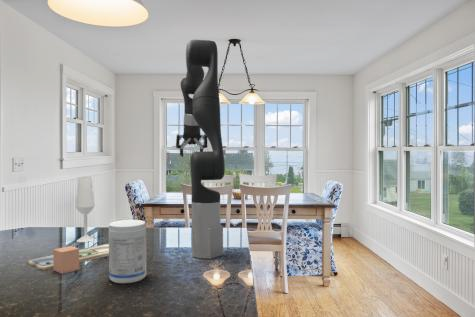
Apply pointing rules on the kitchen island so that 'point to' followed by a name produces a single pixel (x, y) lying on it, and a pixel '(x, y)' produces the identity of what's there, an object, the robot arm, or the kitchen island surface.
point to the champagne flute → (85, 203)
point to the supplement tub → (127, 251)
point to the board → (84, 255)
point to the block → (66, 259)
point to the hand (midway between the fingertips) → (191, 156)
